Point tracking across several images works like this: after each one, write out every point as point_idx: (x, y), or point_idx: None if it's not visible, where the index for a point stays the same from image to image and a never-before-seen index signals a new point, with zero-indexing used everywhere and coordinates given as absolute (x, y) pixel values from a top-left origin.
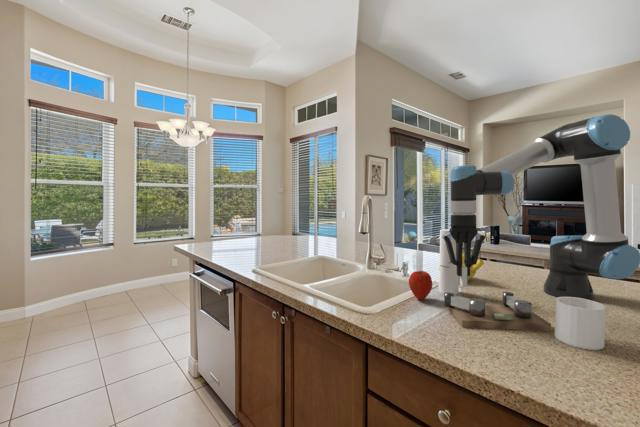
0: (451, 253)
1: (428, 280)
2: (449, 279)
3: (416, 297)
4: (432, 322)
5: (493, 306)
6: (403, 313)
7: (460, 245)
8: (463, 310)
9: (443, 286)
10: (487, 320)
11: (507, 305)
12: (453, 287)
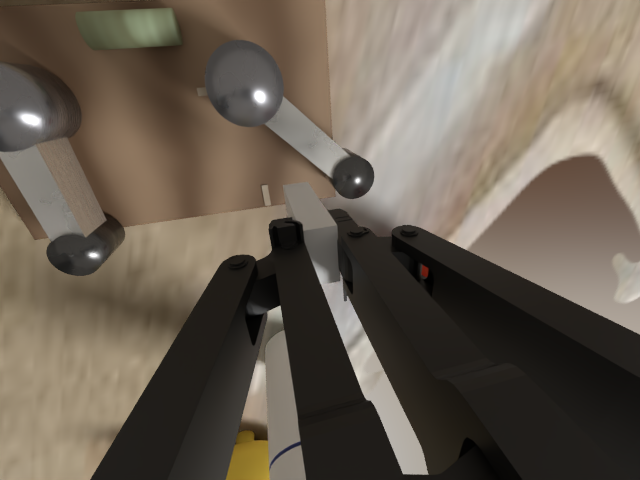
0: (495, 273)
1: None
2: None
3: None
4: (415, 40)
5: (165, 209)
6: (484, 117)
7: (482, 370)
8: None
9: None
10: (213, 12)
11: (104, 216)
12: (286, 349)
